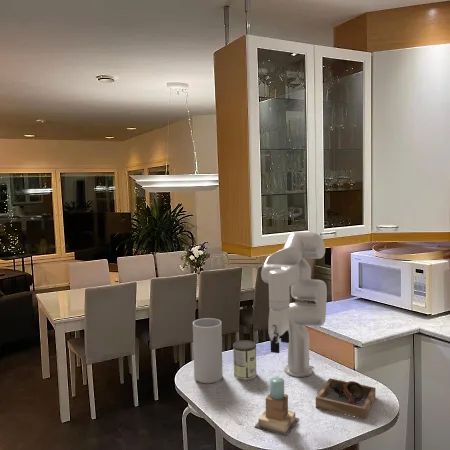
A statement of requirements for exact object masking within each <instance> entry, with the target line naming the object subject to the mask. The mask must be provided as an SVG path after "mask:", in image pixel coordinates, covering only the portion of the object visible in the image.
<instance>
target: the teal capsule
mask: <svg viewBox="0 0 450 450" xmlns="http://www.w3.org/2000/svg"><path fill="white" fill-rule="evenodd" d="M269 394H270V398H272V399H274V400H281V399H283V398H284V394H285V379H284V378H282V377H278V376H274V377H271V378H270V379H269Z"/></svg>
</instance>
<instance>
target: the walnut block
mask: <svg viewBox="0 0 450 450" xmlns="http://www.w3.org/2000/svg"><path fill="white" fill-rule="evenodd" d="M288 410H289V394H285V393H284V398H283V399H281V400H274V399H272V398H270V393H269V394H268V395H267V396H266V397H265V411H266V417H267V418H271V419H274V420H278V421H282V420H283V419H284V418H285V417H286V415H287V414H288Z"/></svg>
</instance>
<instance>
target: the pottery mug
mask: <svg viewBox="0 0 450 450" xmlns="http://www.w3.org/2000/svg"><path fill="white" fill-rule="evenodd" d="M346 382H347V383H345V384H343V385H341V384H339V383H336V384H334V385H333V389H332V390H333V391H334V393H336V394H337V395H338V397H339V398H341V396H343V395H345V396H346V397H347V398H348V399H349V400H348V401H347V403H348V404H352V405H356V404H357V403H360V402H362V401H363V399H364V397H365V396H364V389H363V387H362V386H361V385H362V384H360V383H359V382H356V381H353V380H351V381H346ZM352 385H357V386H358V387H359V388H360V389H361V391H362V393H361V395H355V394H354V392H355V390H353V389H351V386H352ZM337 388H338V389H339V390H338V389H337ZM352 395H353V396H352Z"/></svg>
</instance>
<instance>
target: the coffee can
mask: <svg viewBox="0 0 450 450" xmlns="http://www.w3.org/2000/svg"><path fill="white" fill-rule="evenodd" d="M232 348H233V350H232V351H233V352H232V353H233V356H232V357H233V376H234V377H235V378H236V379H238V380H243V381H244V380H247V381H248V380H252V379H254V378H256V376H257V343H256V342H255V341H253V340H243V339H242V340H237V341H234V342H233V344H232Z"/></svg>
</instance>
